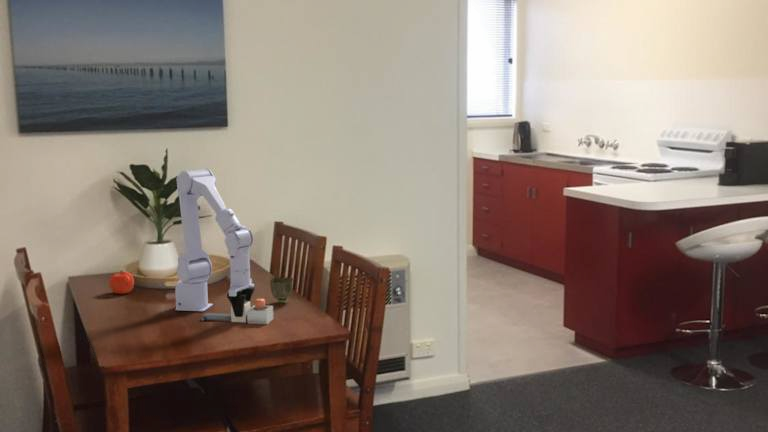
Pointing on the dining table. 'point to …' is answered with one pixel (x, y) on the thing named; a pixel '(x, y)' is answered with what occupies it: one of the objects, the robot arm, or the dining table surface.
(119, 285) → the apple
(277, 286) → the cup
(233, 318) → the block
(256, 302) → the button
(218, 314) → the rail
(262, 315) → the button housing
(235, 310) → the robot arm
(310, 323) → the dining table surface
